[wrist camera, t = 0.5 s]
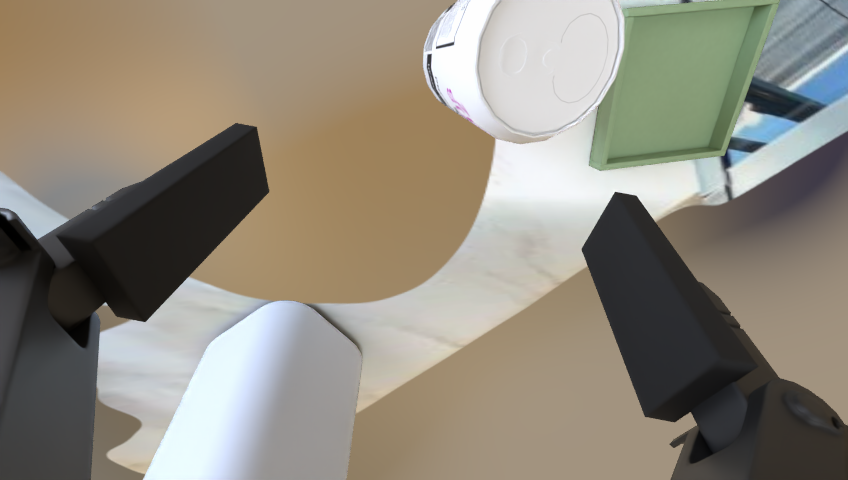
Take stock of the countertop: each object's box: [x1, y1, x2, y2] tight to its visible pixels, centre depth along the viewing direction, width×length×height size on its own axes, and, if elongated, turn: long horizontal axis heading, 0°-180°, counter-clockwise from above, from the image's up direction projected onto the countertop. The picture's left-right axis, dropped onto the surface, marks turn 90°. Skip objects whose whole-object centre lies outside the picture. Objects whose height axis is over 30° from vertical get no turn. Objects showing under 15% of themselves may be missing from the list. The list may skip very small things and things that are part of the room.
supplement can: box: [423, 0, 624, 144], centre depth 21 cm, size 8×8×15 cm
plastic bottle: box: [143, 300, 362, 480], centre depth 29 cm, size 15×15×28 cm
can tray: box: [589, 0, 780, 171], centre depth 30 cm, size 13×13×2 cm
